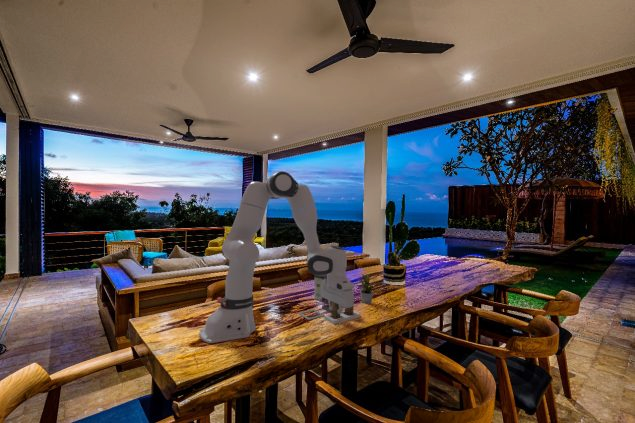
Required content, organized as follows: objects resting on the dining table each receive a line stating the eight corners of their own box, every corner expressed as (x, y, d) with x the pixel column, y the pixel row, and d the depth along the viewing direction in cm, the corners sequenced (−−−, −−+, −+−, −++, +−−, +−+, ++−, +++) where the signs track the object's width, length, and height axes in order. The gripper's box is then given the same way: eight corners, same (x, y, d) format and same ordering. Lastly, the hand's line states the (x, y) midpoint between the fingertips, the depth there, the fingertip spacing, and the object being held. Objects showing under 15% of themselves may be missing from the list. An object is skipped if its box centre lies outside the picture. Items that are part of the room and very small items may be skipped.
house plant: (347, 299, 169) (348, 271, 169) (369, 297, 173) (370, 269, 173) (358, 307, 155) (359, 276, 155) (382, 305, 160) (382, 275, 159)
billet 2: (348, 318, 138) (348, 303, 137) (342, 315, 141) (343, 301, 141) (354, 316, 140) (355, 302, 140) (349, 314, 143) (349, 299, 143)
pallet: (333, 326, 131) (333, 320, 131) (324, 321, 136) (324, 315, 136) (360, 319, 140) (360, 313, 140) (350, 314, 146) (350, 309, 146)
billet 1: (335, 319, 133) (335, 303, 133) (329, 316, 136) (330, 301, 136) (342, 317, 135) (342, 302, 135) (336, 314, 139) (336, 299, 138)
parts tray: (308, 322, 135) (308, 318, 135) (298, 315, 142) (298, 312, 142) (324, 318, 140) (324, 314, 140) (313, 312, 147) (313, 309, 147)
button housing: (330, 314, 145) (330, 309, 145) (321, 310, 150) (321, 305, 150) (341, 312, 149) (341, 307, 149) (332, 307, 154) (332, 303, 154)
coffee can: (333, 297, 173) (333, 273, 173) (330, 302, 163) (331, 277, 163) (316, 295, 175) (316, 272, 175) (312, 301, 165) (312, 275, 165)
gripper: (317, 277, 142) (317, 306, 142) (345, 287, 125) (345, 320, 126) (328, 276, 146) (327, 304, 146) (356, 285, 129) (356, 317, 129)
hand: (335, 311), depth 136 cm, fingers closed on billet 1, 4 cm apart
